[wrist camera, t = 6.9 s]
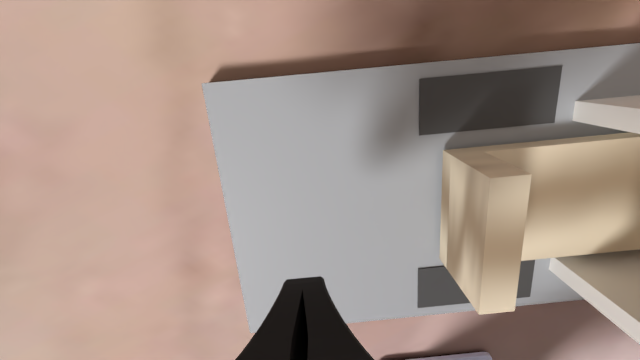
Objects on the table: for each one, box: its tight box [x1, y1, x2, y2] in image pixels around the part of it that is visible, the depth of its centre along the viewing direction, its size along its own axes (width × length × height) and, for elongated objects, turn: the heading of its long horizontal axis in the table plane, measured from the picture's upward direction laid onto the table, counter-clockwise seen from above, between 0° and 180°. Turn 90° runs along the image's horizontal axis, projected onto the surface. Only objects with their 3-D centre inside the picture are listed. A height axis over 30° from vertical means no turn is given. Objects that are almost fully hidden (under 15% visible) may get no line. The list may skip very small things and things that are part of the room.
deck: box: [202, 43, 640, 333], centre depth 19 cm, size 15×34×1 cm, turn 95°
